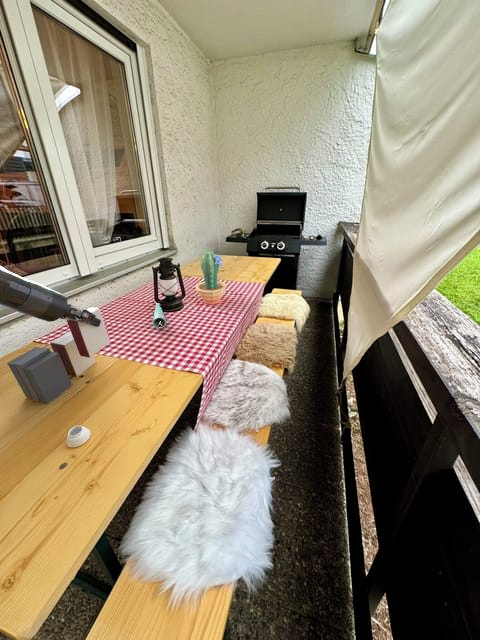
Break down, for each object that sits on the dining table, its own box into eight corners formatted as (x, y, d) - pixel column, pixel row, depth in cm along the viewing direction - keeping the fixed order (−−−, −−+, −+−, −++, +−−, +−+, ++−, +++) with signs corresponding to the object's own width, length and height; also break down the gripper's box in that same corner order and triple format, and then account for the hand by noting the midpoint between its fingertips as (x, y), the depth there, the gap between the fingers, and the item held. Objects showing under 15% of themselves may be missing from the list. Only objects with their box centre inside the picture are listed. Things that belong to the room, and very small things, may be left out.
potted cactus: (209, 310, 123) (204, 257, 111) (191, 300, 133) (185, 252, 121) (233, 300, 132) (231, 251, 120) (214, 292, 142) (211, 246, 130)
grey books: (26, 397, 74) (6, 361, 68) (51, 379, 81) (35, 345, 75) (47, 404, 72) (28, 367, 66) (72, 385, 78) (57, 349, 72)
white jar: (77, 428, 64) (62, 446, 60) (73, 420, 63) (57, 438, 59) (95, 431, 63) (81, 450, 59) (92, 423, 62) (77, 441, 58)
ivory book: (80, 355, 75) (66, 319, 69) (101, 341, 82) (90, 306, 76) (89, 357, 74) (75, 321, 68) (110, 342, 81) (99, 308, 75)
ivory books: (63, 373, 83) (49, 342, 78) (84, 359, 90) (72, 329, 84) (76, 377, 82) (63, 345, 76) (96, 361, 89) (86, 331, 83)
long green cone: (161, 293, 128) (165, 316, 106) (163, 303, 131) (167, 328, 108) (150, 294, 127) (151, 318, 104) (152, 304, 129) (153, 330, 107)
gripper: (66, 289, 59) (117, 313, 75) (22, 283, 63) (79, 308, 79) (54, 320, 57) (108, 338, 73) (9, 312, 61) (70, 331, 77)
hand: (93, 322), depth 76 cm, fingers closed on ivory book, 3 cm apart
